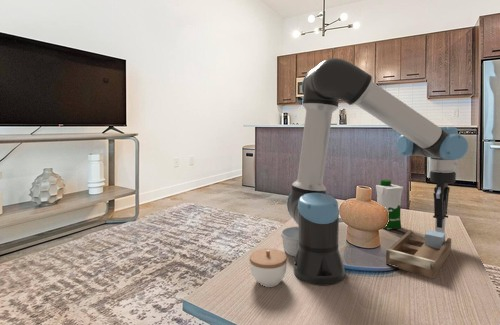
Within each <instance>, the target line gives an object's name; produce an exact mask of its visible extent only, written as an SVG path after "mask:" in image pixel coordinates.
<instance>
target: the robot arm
mask: <svg viewBox="0 0 500 325" xmlns="http://www.w3.org/2000/svg"><path fill="white" fill-rule="evenodd" d="M373 80H374V79H373V76H372V75H370V74H369V73H368V72H367V71H365V70H363V69H362V68H360V67H358V66H356V65H355V64H354V63H351V62H349V61H348V60H346V59H343V58H337V57H333V58H326V59H325V60H323V61H321V62H320V63H319V64H317V65H316V66H315V67H313V68H311V69H310V70H309V71H307V73H306V74H305V76H304V78H303V80H302V82H301V93H302V95H303V97H302V98H303V99H302V107H303V108H304V109H305V117H304V118H305V119H304V125H303V133H302V141H301V149H300V155H299V156H300V157H299V165H298V172H297V179H296V180H295V181H294V182H293V183H291V191H290V193H289V195H288V197H287V201H286V208H287V211H288V213H289V215H290V217H291V218H292V219H293V220H294V222H295V223H296V224H297V227H299V248H298V251H297V254H296V257H295V256H294V257H295V258H294V261H293V274H294V276H295V277H297V278H298V280H301V281H303V282H304V283H308V284H312V285H316V286H317V285H318V286H329V285H335V284H339V282H341V281H343V279H344V278H345V265H344V261H343V259H342V255H341V253H340V250H339V226H340V225H339V220H340V218H339V216H340V209H339V202H338V200H337V199H336V198H335V197H334V196H332V195H330V194H327V193H326V192H327V188H326V186H325V185H324V183H323V181H324V173H325V168H326V160H327V154H328V145H329V139H330V134H331V125H332V118H333V113H334V112H335V111H337V109H338V108H339V102H340V101H343V102H344V103H346V104H348V105H349V106H353V105H356V106H358V107H359V108H360V109H362V110H363V111H365V112H367V113H368V114H369V115H370V116H372V117H374V118H375V119H377V120H379V121H380V122H381V123H384V124H385V125H386V126H388V127H389V128H391V129H393V131H395V132H397V133H398V134H400V136H399V137H397V141H396V150H397V152H398V154H399V155H401V156H403V157H404V156H408V157H411V156H414V157H416V156H418V157H424V158H430V166H429V167H430V168H429V169H430V170H431V171H430V172H429V181H430V182H432V183H435V184H436V186H435V187H434V189H433V190H434V191H433V204H434V205H433V207H434V208H433V210H434V213H433V214H434V215H432V218H435V224H434V225H435V226H434V231H436V232H441V233H446V219H448V218H449V215H448V204H449V195H450V191H451V187H449V184H454V183H456V181H457V180H456V179H457V178H456V177H457V172H455V171H456V170H457V166H458V165H459V162H458V160H460V159H462V158H464V157H465V155H466V154H467V152H468V151H469V150H468V149H469V143H468V140H467V138H466V137H464V136H463V135H461V134H459V132H458V131H459V130H458V128H457V127H455V126H439V125H437V124H435V122H433V121H431V120H430V119H428V118H427V117H425V116H424V115H423V114H421V113H419V112H417V111H416V110H415V109H413V108H412V107H410V106H409V105H407V104H406V103H404V102H403V101H402V100H400V99H398V97H396V96H394V95H392V94H391V93H390V92H389V91H387V90H385V89H384V88H383V87H381V86H380V85H378V84H377V83H375V82H374V81H373Z"/></svg>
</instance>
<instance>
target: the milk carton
mask: <svg viewBox="0 0 500 325" xmlns="http://www.w3.org/2000/svg"><path fill="white" fill-rule="evenodd" d="M375 190H376V195H377V196H376V201H377V202H378V203H380V204H381V205H383V206H384V207H386V209H387V211H388V213H389V222H388V224H387V226H386V227H385V228H392V229H391V230H398V229H402V223H401V222H402V221H401V210H402V209H401V206H402V205H401V203H402V199H401V198H402V195H403V190H404V186H400V185H398V184H393V183H392V181H391V180H390V179H381V180H380V184H376V185H375ZM377 202H376V203H377Z"/></svg>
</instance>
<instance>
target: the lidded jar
mask: <svg viewBox="0 0 500 325" xmlns="http://www.w3.org/2000/svg"><path fill="white" fill-rule="evenodd" d="M287 259H288V256H287V253H286V252H285V251H282V250H280V249H276V248H260V249H257V250H255V251H252V252H251V253H250V254H249V264H250V265H249V266H250V271H251V275H252V277H253V279H254V280H255V281H256V282H257V283H258V284H259V283H260V284H261V285H260V284H259V285H260V286H262V285H263V286H262V287H264V286H265V287H266V288H273V287H276V286H278V285H279V284H280V282H281V281H283V279H284V278H285V275H286V272H287V264H288V263H287V261H288V260H287Z"/></svg>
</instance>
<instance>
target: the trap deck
mask: <svg viewBox="0 0 500 325" xmlns="http://www.w3.org/2000/svg"><path fill="white" fill-rule="evenodd" d="M385 251H386V254H385V255H386V256H385V261H386V262H385V264H386V263H387V264H391V265H395V266H398V268H397V269H399V270H403V271H406V272H409V273H413V274H416V275H419V276H422V277H427V278H430V279H435V277H436V276H437V275H438V273H439V271H440V270H441V268H442V266H443V265H444V263H445V261H446V260H447V259H448V257H449V255H450V253H451V251H452V238H450V237H447V239H445V243H444V244H443V246H442V247H441V248H440V249H439V248H434V247H430V246H426V245H425V237H419V236H414V235H413V230H410V229H409V230H408V231H407V232H405V234H403V235H402V236H401V237H400V238H399V239H398V240H397V241H396V242H395V243H394V244H392V245H391V246H390V247H389V248H386V250H385Z"/></svg>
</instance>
